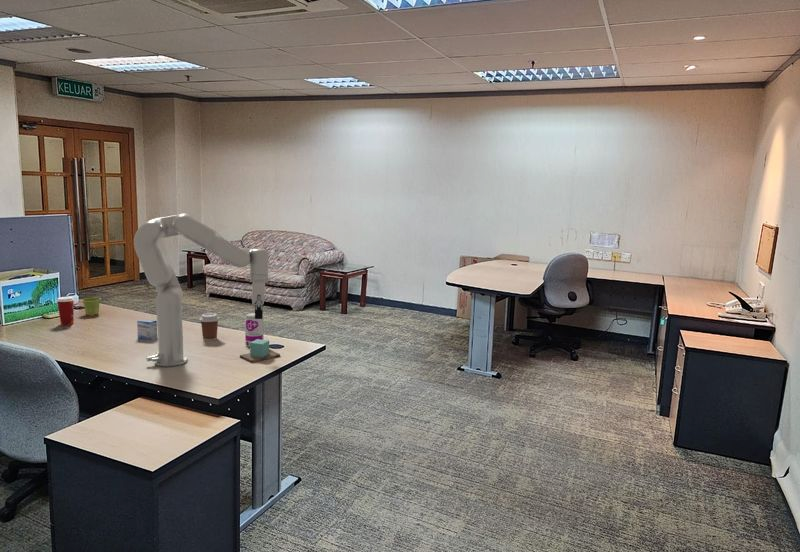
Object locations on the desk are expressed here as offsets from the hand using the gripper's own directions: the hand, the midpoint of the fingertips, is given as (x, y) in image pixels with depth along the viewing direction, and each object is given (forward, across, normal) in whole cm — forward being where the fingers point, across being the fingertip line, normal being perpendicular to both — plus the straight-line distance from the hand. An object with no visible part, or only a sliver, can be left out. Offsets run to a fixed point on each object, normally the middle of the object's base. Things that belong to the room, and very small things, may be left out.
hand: (258, 316), depth 233 cm
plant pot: (+21, -93, -90) cm, 131 cm away
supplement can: (+19, -18, -2) cm, 26 cm away
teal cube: (+17, 0, +1) cm, 17 cm away
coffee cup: (+19, -33, -23) cm, 44 cm away
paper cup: (+21, -72, -96) cm, 122 cm away
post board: (+18, 0, +1) cm, 18 cm away
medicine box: (+20, -39, -52) cm, 68 cm away
